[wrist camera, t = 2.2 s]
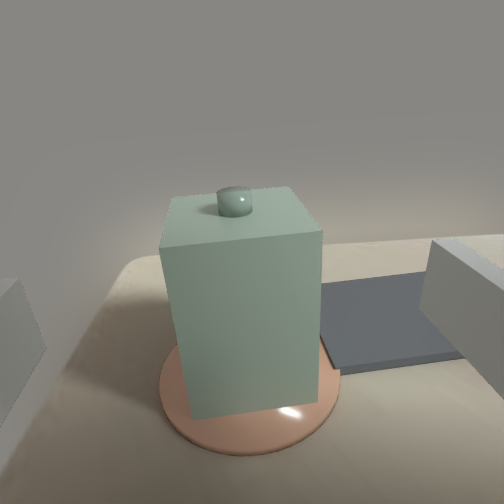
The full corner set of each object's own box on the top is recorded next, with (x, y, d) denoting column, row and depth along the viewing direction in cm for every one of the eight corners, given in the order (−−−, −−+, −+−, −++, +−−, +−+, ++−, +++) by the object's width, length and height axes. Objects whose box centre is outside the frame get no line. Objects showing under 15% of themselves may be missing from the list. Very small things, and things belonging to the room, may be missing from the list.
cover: (290, 325, 30) (288, 169, 24) (317, 402, 23) (323, 207, 17) (195, 337, 30) (169, 180, 24) (192, 420, 22) (154, 224, 16)
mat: (433, 277, 37) (434, 270, 36) (517, 350, 27) (520, 342, 26) (298, 293, 35) (298, 286, 35) (335, 376, 26) (335, 367, 25)
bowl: (311, 310, 33) (312, 269, 31) (370, 437, 21) (377, 385, 19) (168, 327, 32) (160, 286, 30) (148, 472, 20) (132, 420, 18)
